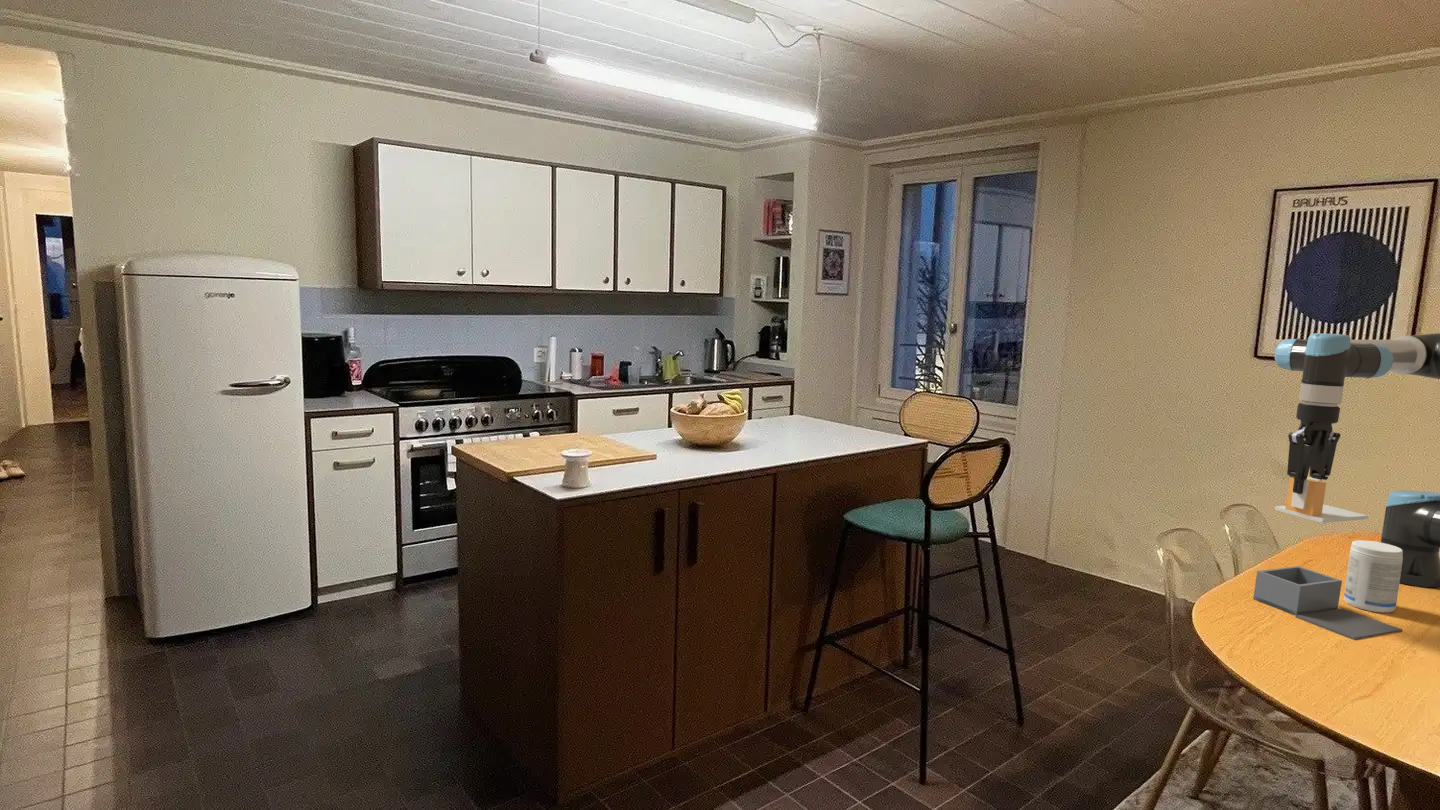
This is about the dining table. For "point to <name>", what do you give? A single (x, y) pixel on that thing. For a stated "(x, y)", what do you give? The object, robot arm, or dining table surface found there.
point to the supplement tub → (1373, 576)
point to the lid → (1317, 505)
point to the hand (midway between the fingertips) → (1303, 506)
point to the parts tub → (1297, 590)
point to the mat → (1348, 623)
